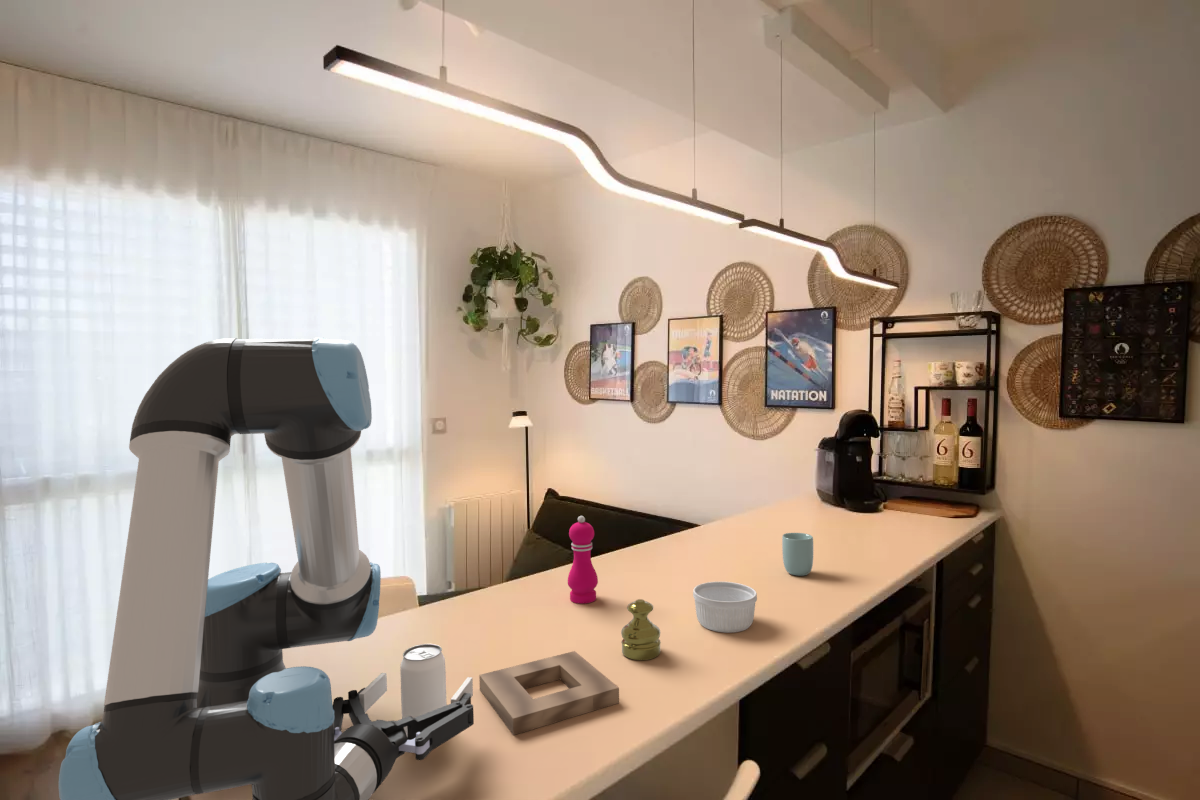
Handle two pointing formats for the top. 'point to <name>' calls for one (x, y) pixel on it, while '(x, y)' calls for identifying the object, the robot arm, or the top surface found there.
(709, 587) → the ramekin
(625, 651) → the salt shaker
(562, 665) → the frame
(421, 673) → the can
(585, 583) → the pepper mill
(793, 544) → the cup
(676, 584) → the top surface
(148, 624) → the robot arm
